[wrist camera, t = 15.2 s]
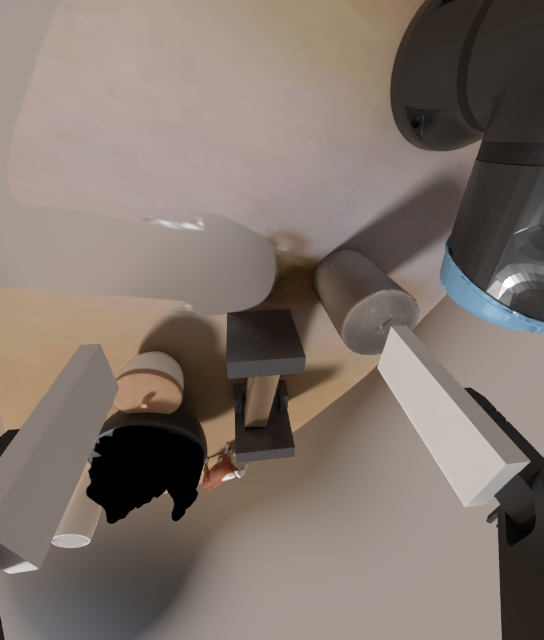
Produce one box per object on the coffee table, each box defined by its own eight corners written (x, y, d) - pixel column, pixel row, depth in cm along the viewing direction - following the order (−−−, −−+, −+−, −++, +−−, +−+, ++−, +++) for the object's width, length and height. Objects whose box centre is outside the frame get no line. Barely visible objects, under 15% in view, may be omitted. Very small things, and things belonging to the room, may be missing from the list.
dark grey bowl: (84, 405, 53) (23, 517, 37) (166, 360, 49) (136, 464, 34) (157, 449, 63) (133, 549, 48) (229, 415, 60) (228, 512, 44)
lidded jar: (190, 344, 48) (182, 384, 40) (186, 386, 53) (178, 428, 46) (124, 337, 45) (102, 378, 37) (126, 382, 51) (108, 426, 43)
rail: (278, 336, 47) (284, 359, 42) (262, 401, 56) (265, 426, 51) (255, 334, 46) (258, 358, 41) (243, 400, 55) (244, 426, 50)
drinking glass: (118, 470, 66) (93, 546, 54) (87, 471, 65) (54, 549, 53) (115, 455, 63) (87, 533, 50) (83, 455, 61) (46, 535, 49)
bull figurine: (250, 441, 67) (252, 476, 60) (211, 465, 70) (209, 499, 64) (237, 435, 64) (238, 469, 58) (198, 459, 68) (195, 494, 61)
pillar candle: (319, 310, 47) (352, 372, 35) (304, 261, 41) (338, 314, 29) (373, 290, 46) (427, 346, 34) (366, 237, 41) (426, 282, 28)
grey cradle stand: (289, 309, 46) (305, 357, 36) (283, 403, 60) (293, 456, 50) (227, 312, 45) (226, 362, 35) (235, 407, 59) (236, 462, 49)
